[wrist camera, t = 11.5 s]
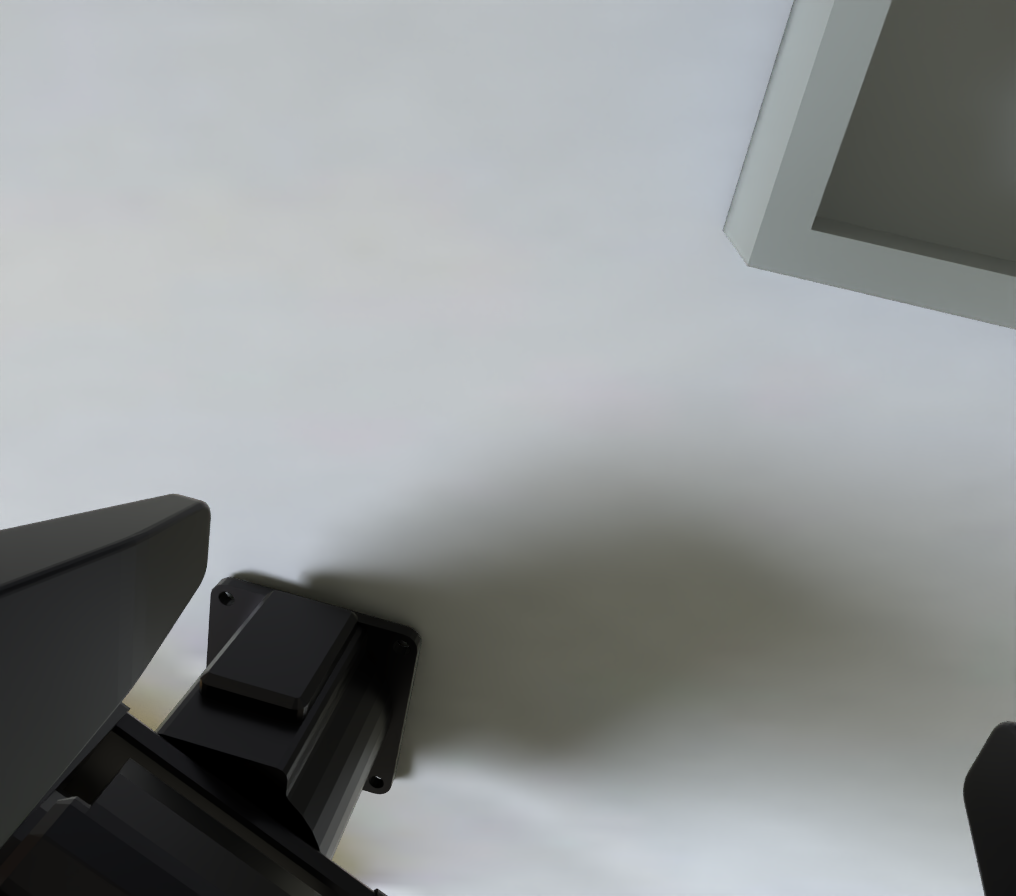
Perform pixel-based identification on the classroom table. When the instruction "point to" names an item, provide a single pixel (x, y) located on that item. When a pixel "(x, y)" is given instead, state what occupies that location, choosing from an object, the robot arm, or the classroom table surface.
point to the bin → (889, 155)
